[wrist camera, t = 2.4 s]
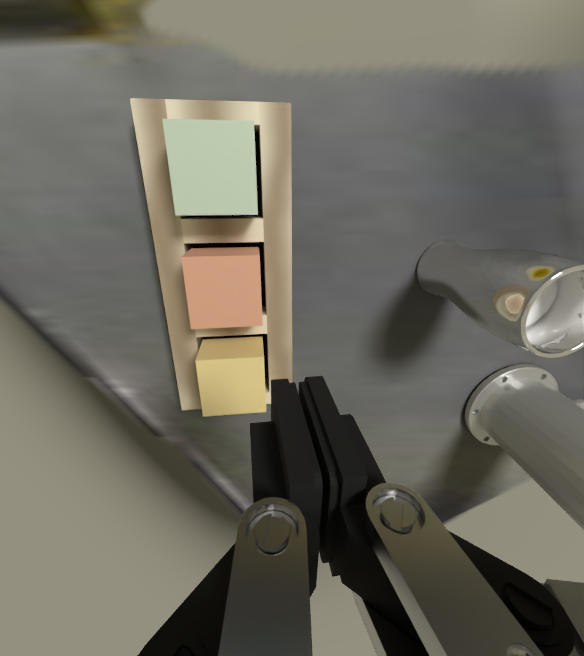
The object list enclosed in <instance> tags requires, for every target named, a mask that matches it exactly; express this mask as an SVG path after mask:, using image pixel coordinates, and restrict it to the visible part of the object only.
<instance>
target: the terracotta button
mask: <svg viewBox="0 0 584 656" xmlns="http://www.w3.org/2000/svg"><path fill="white" fill-rule="evenodd" d="M181 260H182V267H183V274H184V282H185V289H186V296H187V303H188V311H189V318H190V325H191V329H205V328H226V327H247V326H263V321H262V297H261V274H260V254H259V247H231V248H191V249H190V250H189V251H188V252H186V253H185V254H184V255H183V256H182V257H181Z"/></svg>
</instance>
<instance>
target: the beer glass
mask: <svg viewBox="0 0 584 656" xmlns="http://www.w3.org/2000/svg"><path fill="white" fill-rule="evenodd" d="M417 279H418V282H419V284H420V286H421V287H422V289H423V290H424V291H426V292H427V293H430V294H432V295H436V296H442V297H445V298H447V299H449V300H450V301H451V302H452V303H454V304H455V305H456V306H457V307H458V308H459V309H460V310H461V311H462V312H463V313H464V314H465V315H466V316H467V317H468V318H470V319H471V320H472V321H473V322H475V323H476V324H477V325H478V326H480V327H481V328H483V329H485V330H486V331H488V332H490V333H491V334H493V335H495V336H497V337H499V338H501V339H503V340H505V341H507V342H509V343H511V344H514V345H516V346H518V347H520V348H523V349H525V350H527V351H529V352H531V353H533V354H535V355H537V356H540V357H544V358H557V357H562V356H566V355H569V354H571V353H573V352H575V351H577V350H579V349H581V348H582V347H584V263H582V262H579V261H575V260H572V259H569V258H565V257H562V256H558V255H554V254H549V253H545V252H540V251H534V250H527V249H511V248H500V249H472V248H470V247H468V246H466V245H465V244H463V243H461V242H459V241H456V240H442V241H439V242H437V243H435V244H433V245H432V246H430V247H429V248H428V249H427V250H426V251H425V252H424V253H423V255H422V256H421V258H420V260H419V263H418V266H417Z"/></svg>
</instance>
